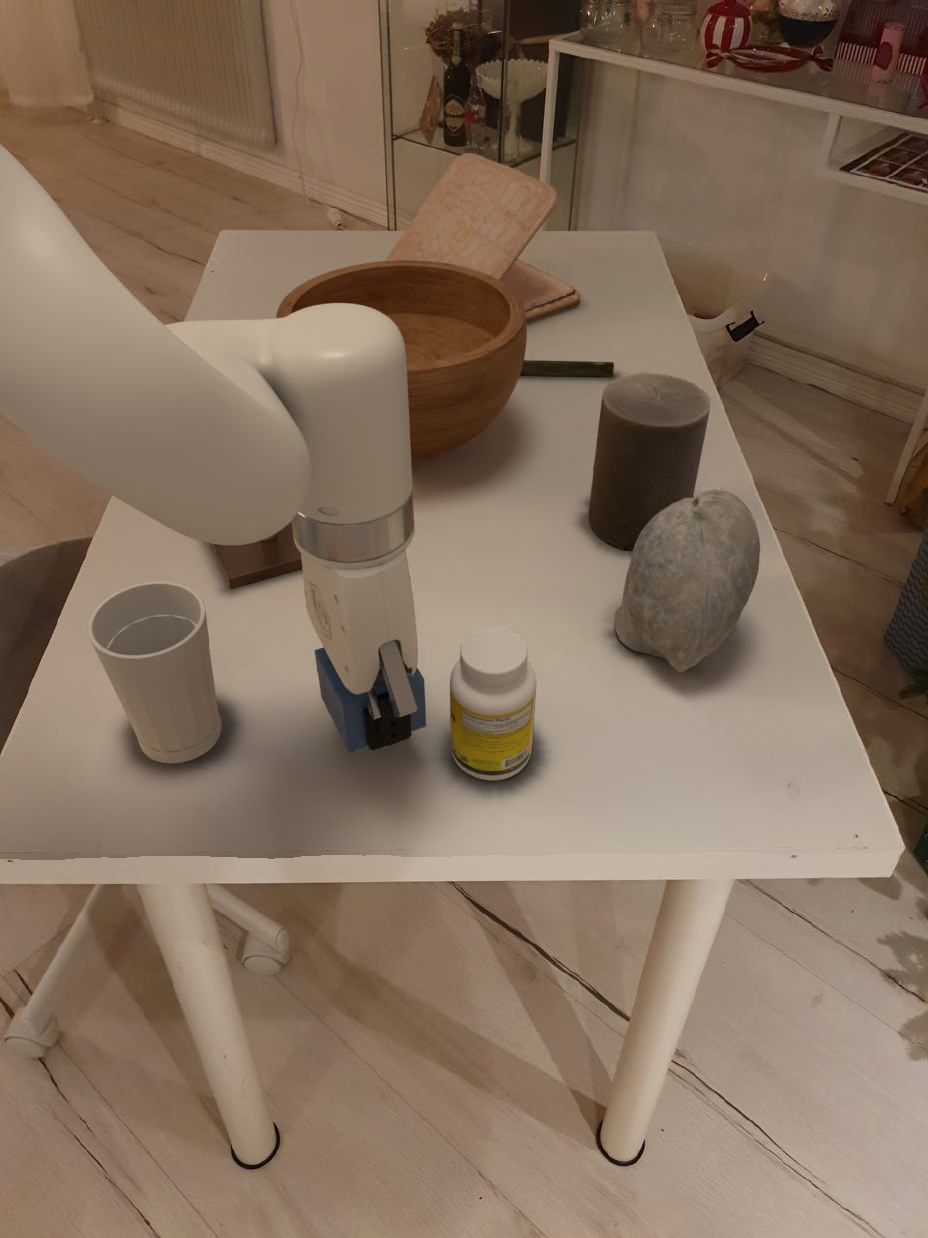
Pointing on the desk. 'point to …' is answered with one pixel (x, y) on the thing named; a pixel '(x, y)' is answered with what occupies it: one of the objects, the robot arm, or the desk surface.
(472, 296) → the bowl
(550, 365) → the rod
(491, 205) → the case
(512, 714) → the pill bottle
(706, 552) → the decorative stone
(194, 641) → the cup
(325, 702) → the collar block
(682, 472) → the pillar candle
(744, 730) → the desk surface
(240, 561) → the dowel stand
